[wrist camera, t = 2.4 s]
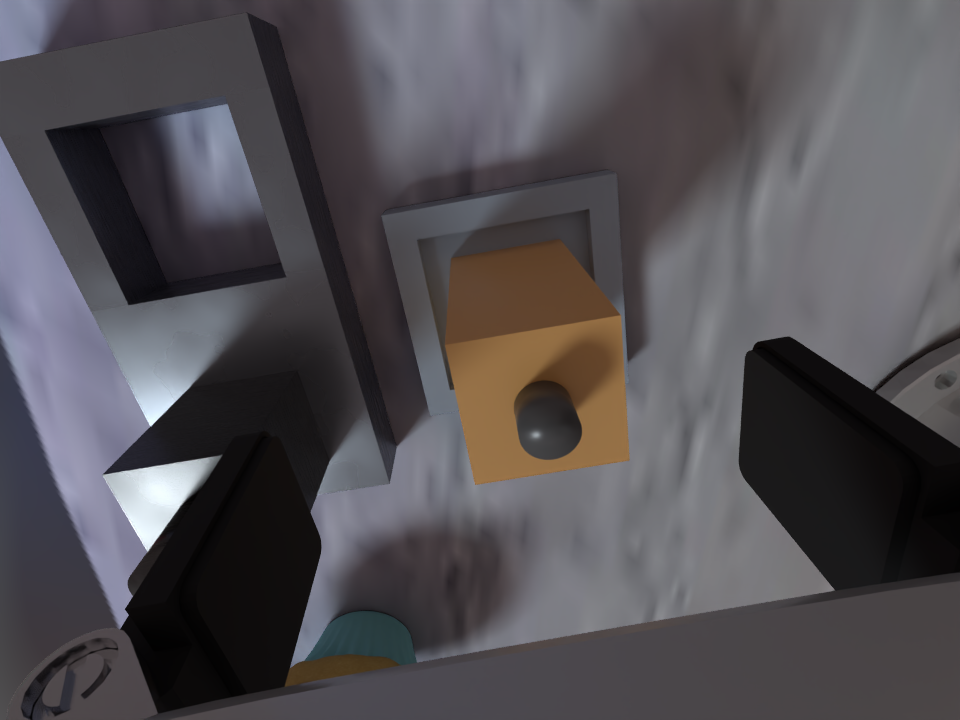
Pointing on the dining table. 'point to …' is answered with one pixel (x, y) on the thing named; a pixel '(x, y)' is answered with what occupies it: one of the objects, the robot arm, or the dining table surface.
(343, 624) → the cupcake
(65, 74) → the grey socket base
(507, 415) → the plug
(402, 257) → the tray
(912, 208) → the dining table surface
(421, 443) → the dining table surface
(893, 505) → the robot arm
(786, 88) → the dining table surface
